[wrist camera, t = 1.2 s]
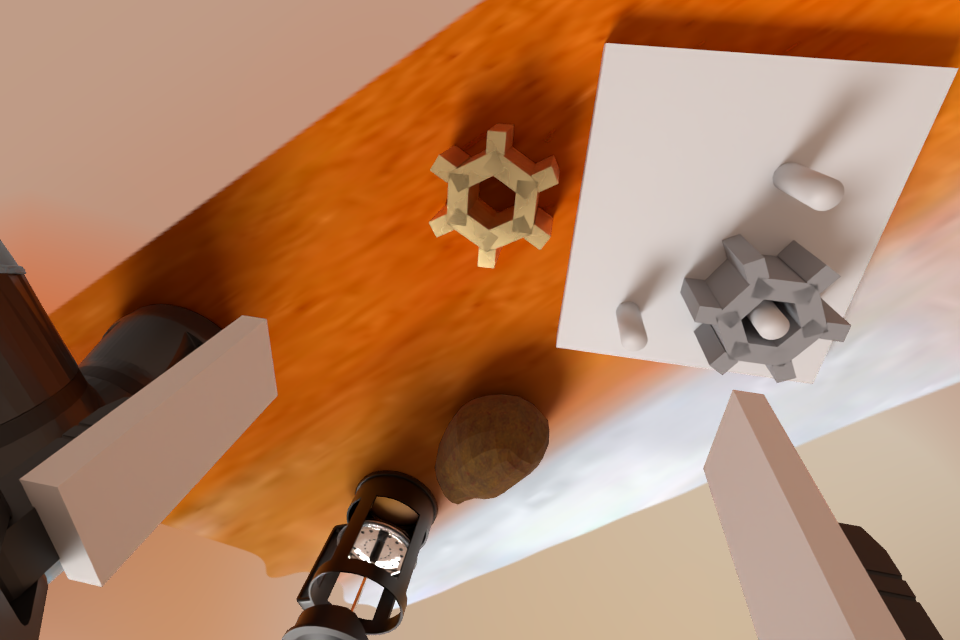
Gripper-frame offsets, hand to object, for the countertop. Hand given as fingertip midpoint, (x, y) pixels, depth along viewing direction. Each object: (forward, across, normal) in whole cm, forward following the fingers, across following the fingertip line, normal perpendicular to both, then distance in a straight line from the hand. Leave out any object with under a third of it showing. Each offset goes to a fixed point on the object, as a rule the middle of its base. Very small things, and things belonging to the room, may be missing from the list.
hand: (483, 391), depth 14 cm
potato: (+27, -2, -22) cm, 35 cm away
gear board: (+26, +13, -1) cm, 29 cm away
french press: (+26, -12, -36) cm, 46 cm away
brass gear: (+26, -3, 0) cm, 27 cm away
